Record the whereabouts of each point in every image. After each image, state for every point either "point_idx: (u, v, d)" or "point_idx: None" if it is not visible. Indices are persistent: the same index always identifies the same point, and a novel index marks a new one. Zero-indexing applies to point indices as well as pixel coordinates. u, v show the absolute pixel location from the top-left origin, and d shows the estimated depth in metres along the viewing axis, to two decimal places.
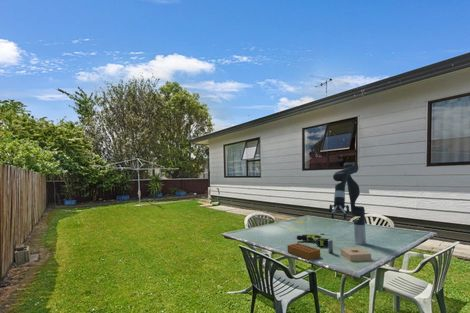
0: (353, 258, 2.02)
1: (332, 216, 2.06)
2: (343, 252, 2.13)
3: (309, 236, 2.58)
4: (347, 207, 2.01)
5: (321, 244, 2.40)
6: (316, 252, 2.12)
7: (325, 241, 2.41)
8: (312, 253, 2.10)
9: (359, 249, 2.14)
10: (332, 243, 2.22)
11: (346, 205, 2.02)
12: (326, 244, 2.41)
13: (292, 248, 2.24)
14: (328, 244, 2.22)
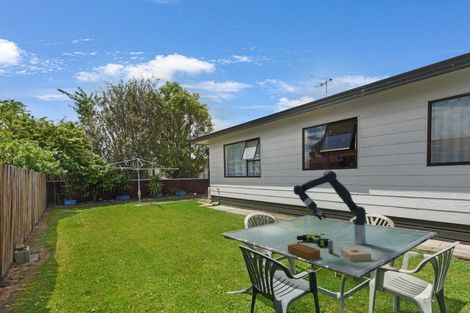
0: (353, 258, 2.02)
1: (323, 217, 2.33)
2: (343, 252, 2.13)
3: (309, 236, 2.58)
4: (312, 212, 2.28)
5: (322, 244, 2.40)
6: (316, 252, 2.12)
7: (325, 241, 2.41)
8: (312, 253, 2.10)
9: (359, 249, 2.14)
10: (332, 243, 2.22)
11: (311, 211, 2.29)
12: (326, 244, 2.41)
13: (292, 248, 2.24)
14: (328, 244, 2.22)
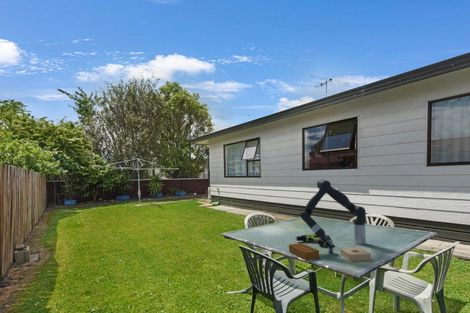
0: (353, 258, 2.02)
1: None
2: (343, 252, 2.13)
3: (308, 236, 2.58)
4: (321, 241, 2.22)
5: None
6: (314, 253, 2.11)
7: None
8: (309, 253, 2.09)
9: (359, 249, 2.14)
10: (332, 243, 2.22)
11: (320, 240, 2.23)
12: None
13: (292, 248, 2.25)
14: None
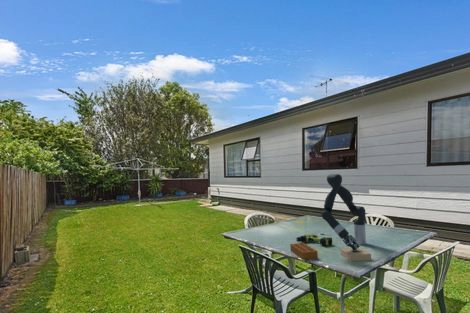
0: (353, 258, 2.02)
1: None
2: (343, 252, 2.13)
3: (308, 237, 2.57)
4: (344, 242, 2.10)
5: (327, 243, 2.42)
6: (312, 253, 2.10)
7: (329, 240, 2.44)
8: (307, 253, 2.09)
9: (359, 249, 2.14)
10: None
11: (343, 240, 2.11)
12: (330, 243, 2.45)
13: (293, 247, 2.27)
14: None
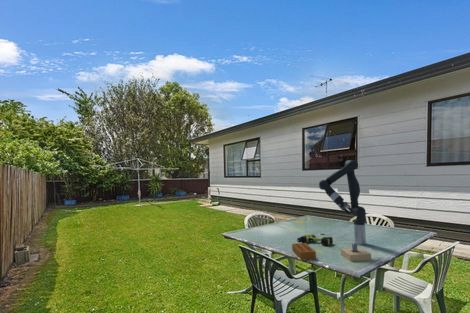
0: (353, 258, 2.02)
1: (350, 211, 2.35)
2: (343, 252, 2.13)
3: (308, 237, 2.56)
4: None
5: (328, 243, 2.44)
6: (310, 253, 2.09)
7: (330, 239, 2.46)
8: (305, 253, 2.09)
9: (359, 249, 2.14)
10: None
11: (338, 205, 2.31)
12: (331, 242, 2.47)
13: (293, 247, 2.28)
14: (352, 248, 2.10)
